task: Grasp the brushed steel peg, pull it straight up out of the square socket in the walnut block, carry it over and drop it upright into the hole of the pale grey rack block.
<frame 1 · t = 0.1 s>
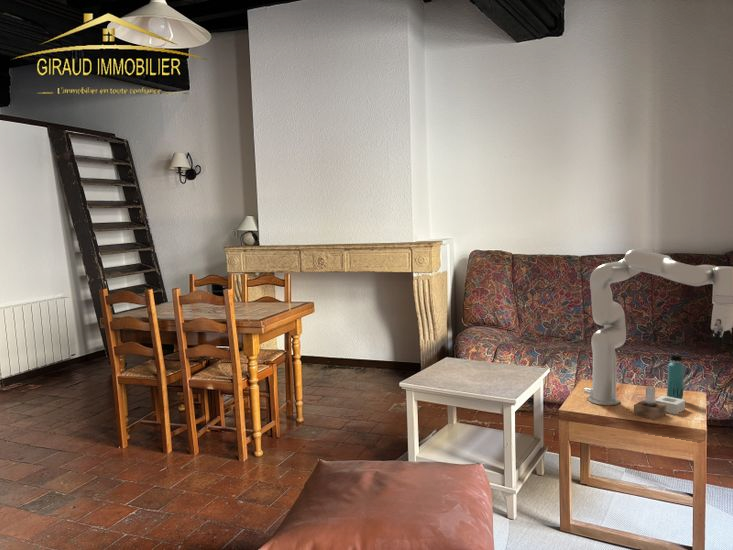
hand: (722, 345, 228), 31 cm above the table, tool pointing down, fingers open, 9 cm apart
steel peg: (650, 401, 245), in the socket block
rack block: (669, 409, 252), on the table
beverage bottle: (674, 401, 263), on the table
socket block: (649, 414, 246), on the table
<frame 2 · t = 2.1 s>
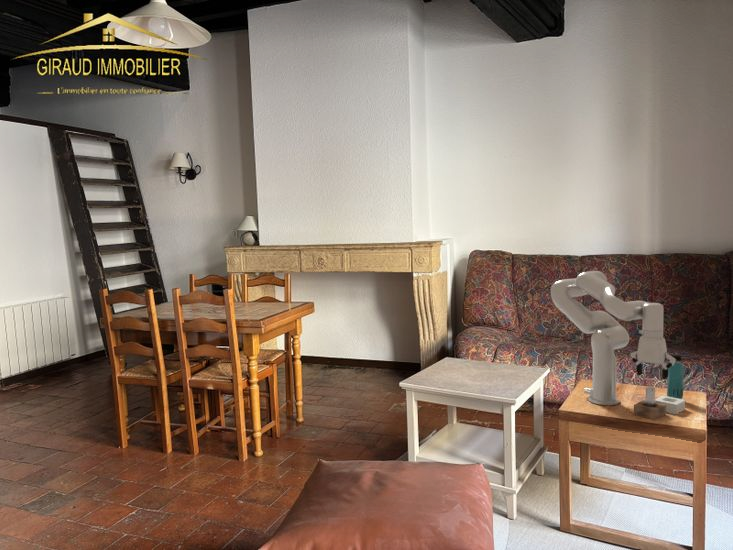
hand: (652, 376, 244), 16 cm above the table, tool pointing down, fingers open, 9 cm apart
nothing on the table moved.
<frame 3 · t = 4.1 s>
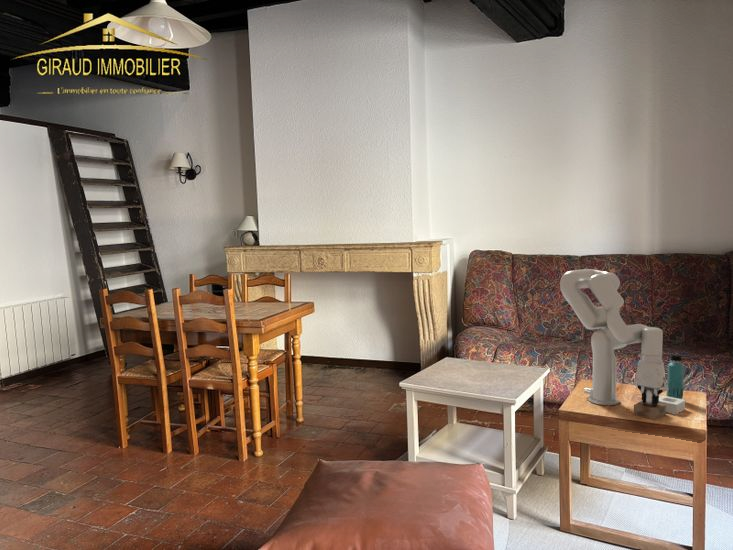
hand: (650, 403, 245), 5 cm above the table, tool pointing down, fingers closed on steel peg, 3 cm apart
steel peg: (650, 401, 245), in the socket block, touching gripper
everything else where it was.
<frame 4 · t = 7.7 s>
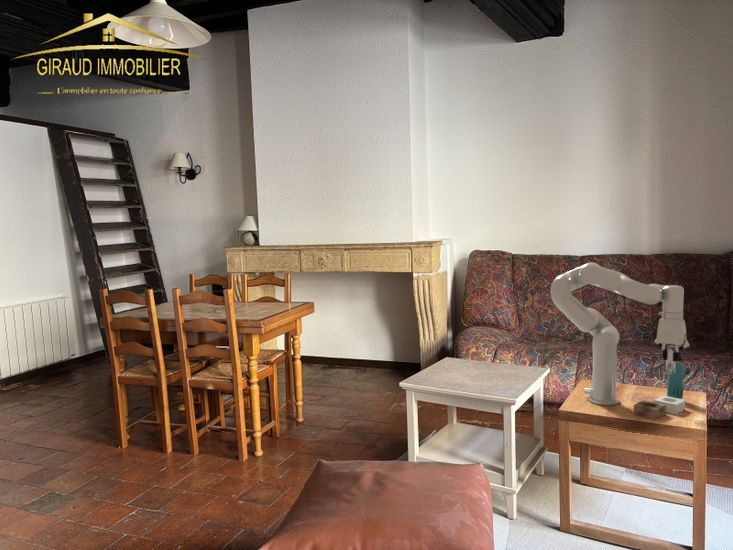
hand: (671, 360, 250), 21 cm above the table, tool pointing down, fingers closed on steel peg, 3 cm apart
steel peg: (671, 359, 250), point 21 cm above the table, touching gripper
everything else where it was.
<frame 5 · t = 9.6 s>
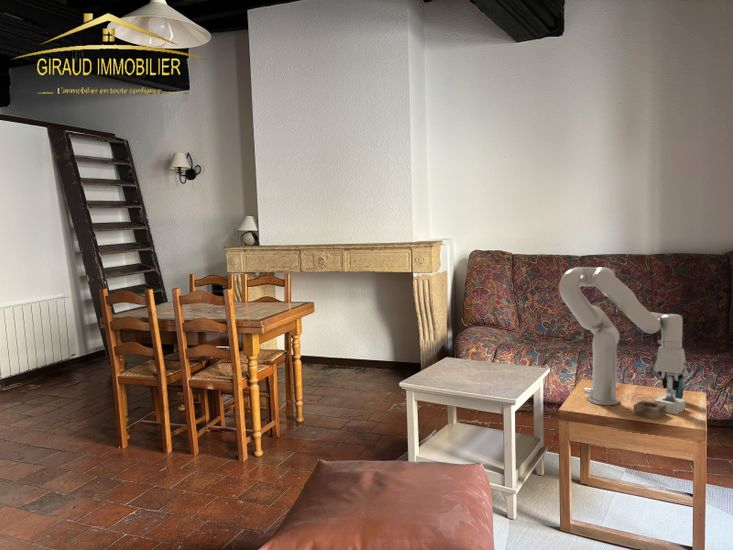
hand: (670, 388, 251), 9 cm above the table, tool pointing down, fingers closed on steel peg, 3 cm apart
steel peg: (670, 388, 251), point 9 cm above the table, touching gripper
everything else where it was.
when the fingers open (7 cm above the table, at t = 11.1 s): steel peg drops 1 cm, resting in rack block.
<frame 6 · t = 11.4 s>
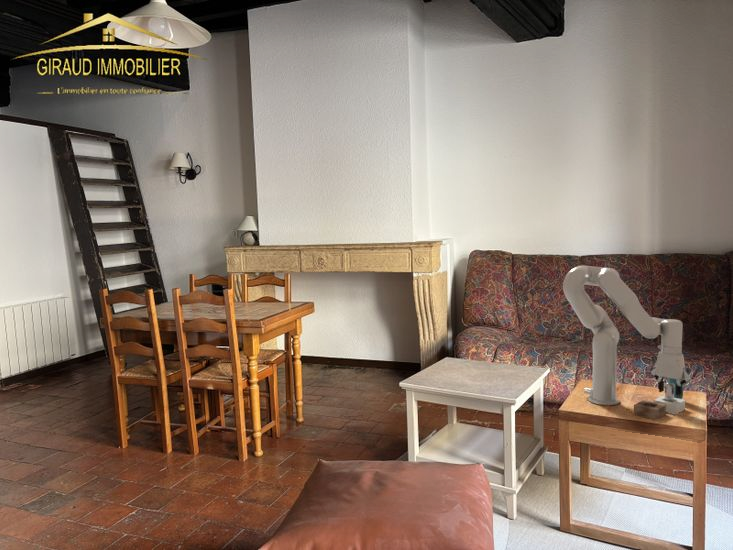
hand: (669, 392, 251), 7 cm above the table, tool pointing down, fingers open, 6 cm apart
steel peg: (669, 396, 251), in the rack block
everything else where it was.
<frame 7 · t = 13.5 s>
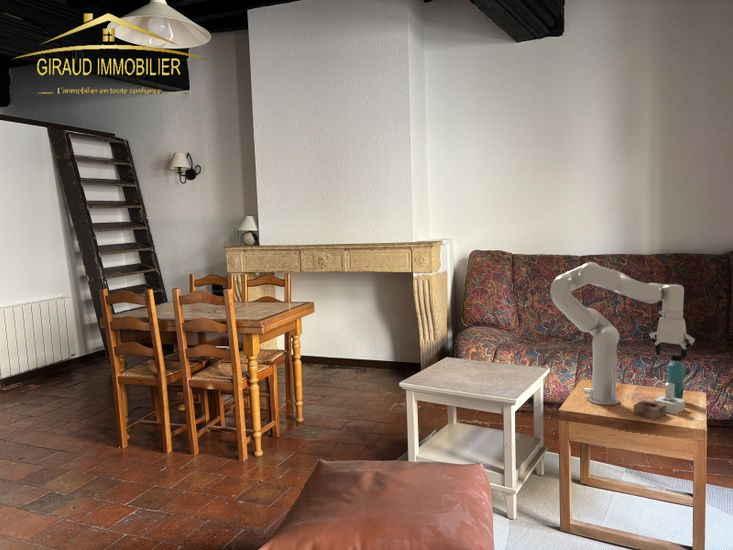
hand: (670, 356, 249), 22 cm above the table, tool pointing down, fingers open, 9 cm apart
nothing on the table moved.
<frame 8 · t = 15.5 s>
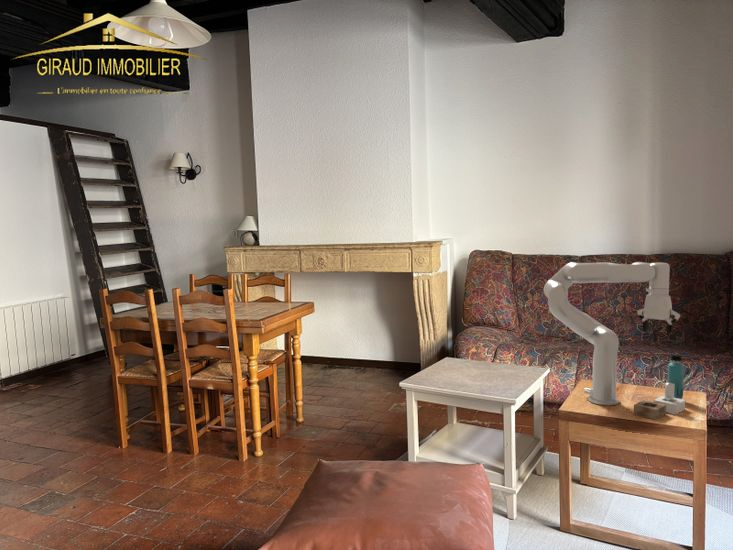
hand: (657, 332, 259), 30 cm above the table, tool pointing down, fingers open, 9 cm apart
nothing on the table moved.
at the end: steel peg 0.1 cm off-centre on the rack block, point 5.5 cm above the rack block's base; steel peg tilted 0°; the gripper is holding nothing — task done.
